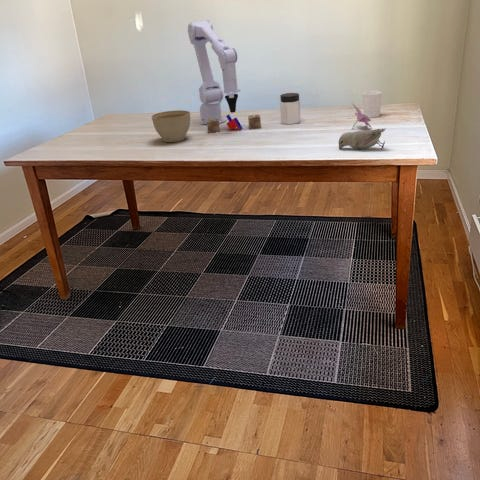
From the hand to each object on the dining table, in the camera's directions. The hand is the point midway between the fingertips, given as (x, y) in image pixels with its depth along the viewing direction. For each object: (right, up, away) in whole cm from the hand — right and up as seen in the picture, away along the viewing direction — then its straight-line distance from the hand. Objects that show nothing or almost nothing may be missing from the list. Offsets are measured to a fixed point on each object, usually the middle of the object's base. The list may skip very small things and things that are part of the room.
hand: (232, 112), depth 215 cm
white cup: (+61, -1, +3) cm, 61 cm away
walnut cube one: (+10, -6, +3) cm, 12 cm away
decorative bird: (+46, -23, -39) cm, 65 cm away
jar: (+26, -3, +6) cm, 27 cm away
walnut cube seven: (-8, -8, +4) cm, 12 cm away
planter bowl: (-25, -13, -3) cm, 28 cm away
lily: (+52, -11, -14) cm, 55 cm away
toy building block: (+1, -7, +3) cm, 8 cm away
